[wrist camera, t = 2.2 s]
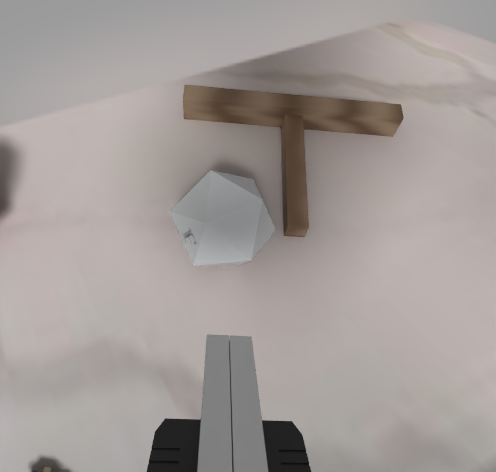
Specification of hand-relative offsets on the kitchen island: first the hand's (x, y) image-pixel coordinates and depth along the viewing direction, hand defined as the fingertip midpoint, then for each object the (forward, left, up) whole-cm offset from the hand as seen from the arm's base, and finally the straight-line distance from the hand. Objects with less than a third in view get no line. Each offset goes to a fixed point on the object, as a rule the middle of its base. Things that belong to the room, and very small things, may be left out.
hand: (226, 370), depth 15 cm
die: (0, -16, -21) cm, 27 cm away
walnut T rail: (-7, -25, -21) cm, 33 cm away
